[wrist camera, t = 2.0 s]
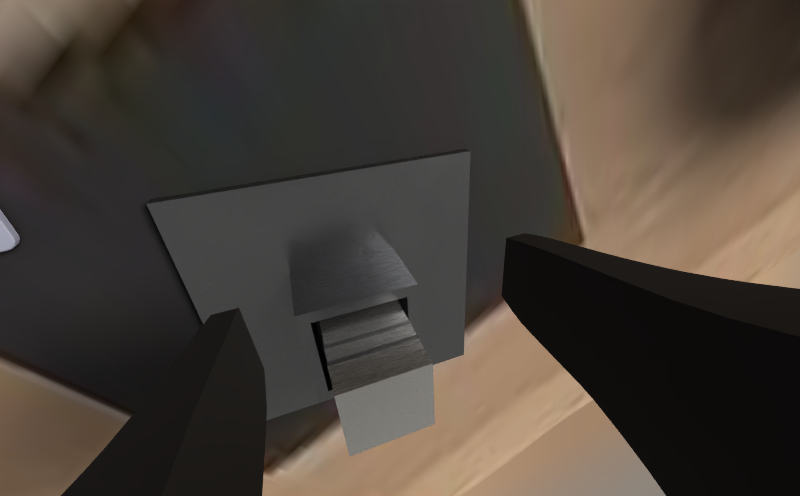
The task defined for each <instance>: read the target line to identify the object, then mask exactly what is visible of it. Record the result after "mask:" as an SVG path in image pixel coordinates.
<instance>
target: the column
mask: <svg viewBox="0 0 800 496" xmlns="http://www.w3.org/2000/svg"><path fill="white" fill-rule="evenodd" d="M319 322H320V327H321V332H322V337H323V342H324V350H325V354H326V358H327V366H328V370H329V374H330V378H331V382H332V387H333V392H334V397H335V401H336V404H337V408H338V412H339V416H340V420H341V424H342V428H343V432H344V436H345V440H346V444H347V448H348V452H349V456H353V455H355V454H358V453H360V452H363V451H366V450H368V449H371V448H373V447H376V446H379V445H381V444H384V443H386V442H389V441H392V440H394V439H397V438H399V437H402V436H405V435H407V434H410V433H412V432H415V431H418V430H420V429H423V428H425V427H428V426H431V425H433V424H435V420H434V387H433V363H432V361H431V359H430V358H429V356H428V354H427V352H426V350H425V349H424V347H423V345H422V343H421V341H420V338H419V336H418V335H417V334H416V332H415V331H414V329H413V327H412V324H411V322H410V321H409V320H408V318H407V316H406V315H405V313H404V311H403V309H402V307H401V306H400V304H399V302H398V300H394V301H390V302H386V303H383V304H379V305H375V306H372V307H368V308H364V309H361V310H357V311H353V312H350V313H346V314H342V315H339V316H335V317H331V318H328V319H324V320H320V321H319Z"/></svg>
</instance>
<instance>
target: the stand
mask: <svg viewBox="0 0 800 496" xmlns="http://www.w3.org/2000/svg"><path fill="white" fill-rule="evenodd" d="M469 178H470V151H469V150H466V149H462V150H456V151H450V152H444V153H437V154H431V155H425V156H419V157H413V158H406V159H400V160H394V161H388V162H381V163H375V164H369V165H363V166H356V167H350V168H344V169H338V170H332V171H325V172H319V173H313V174H307V175H300V176H294V177H288V178H282V179H276V180H269V181H263V182H257V183H251V184H244V185H238V186H232V187H226V188H220V189H213V190H207V191H201V192H195V193H188V194H182V195H176V196H170V197H164V198H157V199H151V200H150V201H149V202H148V203H147V206H148V209H149V211H150V213H151V215H152V217H153V219H154V221H155V223H156V226H157V228H158V230H159V232H160V234H161V236H162V238H163V240H164V242H165V245H166V247H167V249H168V251H169V253H170V255H171V257H172V259H173V261H174V264H175V266H176V268H177V270H178V272H179V274H180V276H181V278H182V280H183V283H184V285H185V287H186V289H187V291H188V293H189V295H190V297H191V299H192V302H193V304H194V306H195V308H196V310H197V312H198V314H199V316H200V318H201V321H202V323H203V324H204V323H205V322H206V320H207V319H208V318H209V317H210V315H213V314H216V313H220V312H224V311H228V310H232V309H236V308H239V309H240V311H241V314H242V316H243V319H244V321H245V323H246V326H247V328H248V331H249V333H250V335H251V338H252V340H253V343H254V345H255V347H256V350H257V352H258V355H259V357H260V359H261V362H262V364H263V367H264V372H265V385H266V400H267V418H266V421H267V420H269V419H272V418H275V417H278V416H281V415H284V414H287V413H290V412H293V411H296V410H299V409H302V408H305V407H308V406H311V405H314V404H317V403H320V402H323V401H326V400H329V399H332V398H335V397H334V392H333V387H332V382H331V378H330V374H329V370H328V366H327V358H326V354H325V350H324V342H323V337H322V332H321V327H320V322H319V321H320V320H324V319H328V318H331V317H335V316H339V315H342V314H346V313H350V312H353V311H357V310H361V309H364V308H368V307H372V306H375V305H379V304H383V303H386V302H390V301H394V300H398V302H399V304H400V306H401V307H402V309H403V311H404V313H405V315H406V316H407V318H408V320H409V321H410V322H411V324H412V327H413V329H414V331H415V332H416V334H417V335H418V336H419V338H420V341H421V343H422V345H423V347H424V349H425V350H426V352H427V354H428V356H429V358H430V359H431V361H432V363H433V365H434V364H437V363H440V362H443V361H446V360H449V359H452V358H455V357H458V356H461V355H464V327H465V298H466V268H467V238H468V208H469Z"/></svg>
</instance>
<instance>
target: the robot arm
mask: <svg viewBox="0 0 800 496" xmlns="http://www.w3.org/2000/svg"><path fill="white" fill-rule="evenodd" d="M19 241H20V238H19V235H18V234H17V232H16V231H15V229H14V228H13V227H12V225H11V224H10V222H9V221H8V219H7V218H6V217H5V215H4V214H3V212H2V211H1V210H0V252H3V251H7V250H10V249H12V248H14V247H15V246H17V245H18V244H19ZM502 297H503V298H504V300H505V301H506V303H507V304H508V305H509V307H510V308H511V310H512V311H513V312H514V314H515V315H516V316H517V318H518V319H519V320H520V322H521V323H522V324H523V325H524V326H525V327H526V328H527V330H528V331H529V332H530V333H531V334H532V335H533V336H534V337H535V338H536V339H537V340H538V341H539V342H540V343H541V344H542V345H543V346H544V347H545V348H546V350H547V351H548V352H549V353H550V354H551V355H552V356H553V357H554V358H555V359H556V360H557V361H558V362H559V363H560V364H561V365H562V366H563V367H564V368H565V369H566V370H567V371H568V372H569V373H570V374H571V375H572V376H573V377H574V379H575V380H576V381H577V382H578V383H579V384H580V385H581V386H582V387H583V388H584V389H585V390H586V392H587V393H588V394H589V395H590V396H591V397H592V398H593V399H594V401H595V402H596V403H597V404H598V406H599V407H600V408H601V409H602V411H603V412H604V413H605V414H606V416H607V417H608V418H609V419H610V421H611V422H612V423H613V424H614V426H615V427H616V428H617V429H618V431H619V432H620V433H621V435H622V436H623V437H624V439H625V440H626V441H627V443H628V444H629V445H630V447H631V448H632V449H633V451H634V452H635V453H636V455H637V456H638V457H639V458H640V460H641V461H642V463H643V464H644V465H645V467H646V468H647V469H648V471H649V472H650V473H651V475H652V476H653V478H654V479H655V480H656V482H657V483H658V485H659V486H660V487H661V489H662V490H663V492H664V493H665V495H666V496H800V289H796V288H787V287H779V286H772V285H764V284H755V283H748V282H741V281H734V280H728V279H721V278H716V277H710V276H705V275H699V274H693V273H688V272H682V271H677V270H673V269H668V268H663V267H659V266H654V265H650V264H646V263H642V262H637V261H633V260H629V259H625V258H621V257H617V256H613V255H609V254H606V253H602V252H598V251H594V250H591V249H587V248H583V247H580V246H576V245H572V244H569V243H565V242H561V241H558V240H554V239H550V238H546V237H541V236H537V235H531V234H525V233H524V234H520V235H517V236H513V237H509V238H506V249H505V261H504V273H503V285H502ZM266 418H267V400H266V385H265V372H264V367H263V364H262V362H261V359H260V357H259V355H258V352H257V350H256V347H255V345H254V343H253V340H252V338H251V335H250V333H249V331H248V328H247V326H246V323H245V321H244V319H243V316H242V314H241V311H240V309H239V308H236V309H232V310H228V311H224V312H220V313H216V314H213V315H210V317H209V318H208V319H207V320H206V322H205V323H204V324H203V326H202V327H201V328H200V330H199V331H198V332H197V334H196V335H195V336H194V338H193V339H192V340H191V342H190V343H189V344H188V346H187V347H186V348H185V350H184V351H183V352H182V354H181V355H180V356H179V358H178V359H177V360H176V362H175V363H174V364H173V366H172V367H171V368H170V369H169V371H168V372H167V373H166V375H165V376H164V377H163V379H162V380H161V381H160V382H159V384H158V385H157V386H156V388H155V389H154V390H153V391H152V393H151V394H150V395H149V396H148V397H147V399H146V400H145V401H144V402H143V403H142V405H141V406H140V407H139V408H138V409H137V411H136V412H135V413H134V414H133V415H132V416H131V418H130V419H129V420H128V421H127V422H126V424H125V425H124V426H123V427H122V428H121V430H120V431H119V432H118V433H117V434H116V436H115V437H114V438H113V439H112V440H111V442H110V443H109V444H108V445H107V446H106V447H105V448H104V450H103V451H102V452H101V453H100V454H99V455H98V456H97V457H96V459H95V460H94V461H93V462H92V463H91V464H90V465H89V466H88V467H87V468H86V469H85V471H84V472H83V473H82V474H81V475H80V476H79V477H78V478H77V479H76V480H75V481H74V482H73V483H72V485H71V486H70V487H69V488H68V489H67V490H66V491H65V492H64V493H63V494H62V495H61V496H262V487H263V470H264V454H265V436H266Z"/></svg>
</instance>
